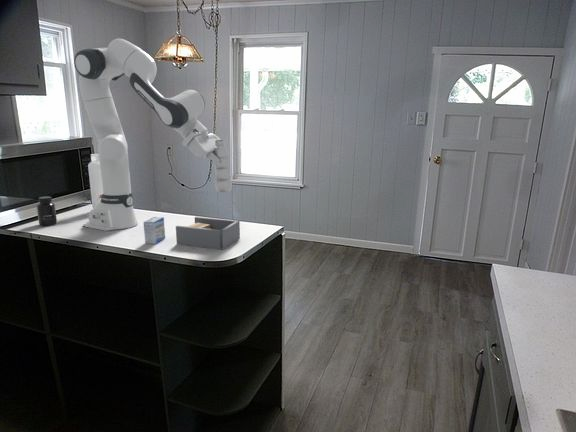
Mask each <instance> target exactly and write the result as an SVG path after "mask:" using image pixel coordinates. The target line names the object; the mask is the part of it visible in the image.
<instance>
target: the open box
mask: <svg viewBox="0 0 576 432" xmlns="http://www.w3.org/2000/svg"><path fill="white" fill-rule="evenodd" d="M195 223H203V224H209V225H210V229H207V228H197V227H187V226H188V225H186V226H185V225H175V235H176V245H180V246H187V247H197V248H206V249H215V250H225V249H227V247H229V246H230V245H232V244H233V243H234V242H237V240H239V239H240V238H241V232H240V229H241V228H240V226H241V222H240V220H233V219H225V218H211V217H205V216H204V217H203V216H195V217H194V224H195Z"/></svg>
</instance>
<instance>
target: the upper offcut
mask: <svg viewBox="0 0 576 432" xmlns="http://www.w3.org/2000/svg"><path fill="white" fill-rule="evenodd" d="M186 226H187V227H197V228H207V229H210V225H209V224H203V223H195V222H194V223H192V224H189V225H186Z"/></svg>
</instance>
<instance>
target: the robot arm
mask: <svg viewBox="0 0 576 432" xmlns="http://www.w3.org/2000/svg"><path fill="white" fill-rule="evenodd" d="M73 62H74V63H73V65H74V68H75V70H76V71H77V74H79V76H78V85H79V92H80V95H81V99H82V102H83V106H84V108H85V111H86V114H87V118H88V121H89V123H90V126H91V128H92V130H93V133H94V136H95V138H96V141H97V154H98V155H99V162H100V169H101V175H102V185H103V194H102V195H99V196H100V197H99V198H101V201H100V203H99V204H98V205H97V206H96V207H94V208H93V207H92V209H91V210H90V211H89V213H88V220H87V221H85V222H84V223H83V224H82V225H83V227H87V228H89V229H90V228H91V229H95V230H101V231H104V232H105V231H106V232H107V231H115V230H122V229H128V228H133V227H136V226H137V225H138V219H137V217H136V214H135V210H134V205H133V204H134V195H133V192H132V186H131V173H130V162H129V153H128V151H129V149H128V148H129V146H128V142H127V139H126V136H125V133H124V129H123V127H122V124H121V120H120V116H119V115H118V111H117V108H116V105H115V102H114V98H113V94H112V92H111V88H110V82H111V81H117V80H118V79H119V78H121V77H123V76H124V75H125V76H126V77H128V78H129V84H130V86H131V88H132V89H133V90H134V92H135V93H136V94H137V95H138V96H139V97H140V98H141V99H142V100H143V101H144V102H145V103H146V104H147V105H148V106H149V107H150V108H151V109H152V110H153V111H154V112H155V113H156V114H157V116H158V117H159V119H160V120H161V122H162V123H163V124H164V125H165V126H167V127H169V128H171V129H173V130H174V131H176V132H177V133H179V134H180V136H181V137H182V139H184V140H183V141H182V142H181V145H182V146H183V147H185V148H187V149H188V150H189V152H191V153H192V154H193V155H194V156H196V157H197V158H199V159H200V160H203V159H205V158H207V159H208V160H211V161H213V163H214V162H215V163H216V164H218V163H220V162H221V159H220V158H218V157H216V156H215V155H213V151H214V150H215V148H216V146H215V140H222V138H220V137H219V136H218V135H216V134H215V133H210V132H209V129H208V128H207V127H206V126H205V125H204V124H202V123H201V121H200V120H198V118H199V116H200V115H201V114H202V113H203V112H204V111H205V107H206V101H205V99H204V97H203V95H202V94H201V93H200V92H199V91H197V90H196V89H193V88H191V89H190V88H189V89H186V90H184V91H182V92H180V93H178V94H177V95H175V96H173V97H165V96H163V95H162V94H161V93H160V92H159V91H158V90H157V89H156V88H155V87H154V86H153V85H152V84H153V83H154V80H155V78H156V76H157V70H158V68H157V64H156V61H155V60H154V58H153V57H152V56H151V55H150V54H148V53H147V52H146V51H144V49H142V48H140V47H138V45H136V44H133V43H132V42H130V41H128V40H126V39H124V38H115V39H113V40H112V41H110V42H109V43H108V45H107V47H97V48H84V49H82V50H79V51H78V52H76V54H75V55H74V59H73ZM226 146H227V145H226V143H225V147H226Z"/></svg>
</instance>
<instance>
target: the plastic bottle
mask: <svg viewBox="0 0 576 432" xmlns="http://www.w3.org/2000/svg"><path fill="white" fill-rule="evenodd" d="M225 144H226V140H225V139H221V140H215V146H216V148H215V150H214V151H213V155H215V156H216V157H218V158H220V159H221V162H220V163H218V164H216V163H215V162H214V161H213V164H214V165H213V166H214V171H215V181H214V188H215V190H216V192H219V193H227V192H230V191H232V190H233V182H232V179H231V173H230V157H231V156H230V155H231V154H230V152H229V150H228V148H226V146H225Z"/></svg>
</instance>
